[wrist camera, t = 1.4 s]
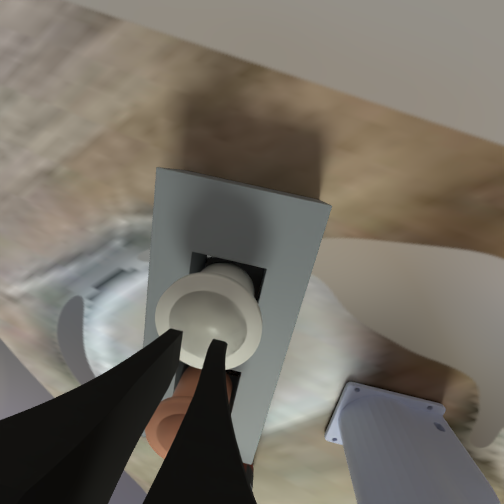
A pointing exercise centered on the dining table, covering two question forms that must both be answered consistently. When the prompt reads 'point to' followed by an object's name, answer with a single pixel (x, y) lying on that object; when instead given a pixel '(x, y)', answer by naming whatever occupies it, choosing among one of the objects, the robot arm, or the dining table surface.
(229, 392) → the terracotta plunger
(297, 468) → the dining table surface
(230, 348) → the plunger
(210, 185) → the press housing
